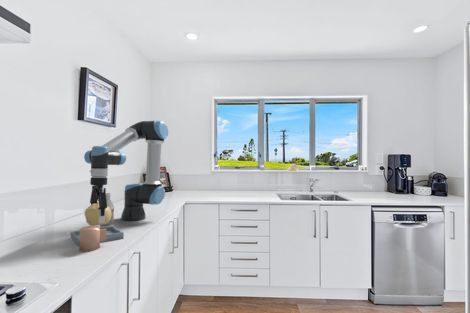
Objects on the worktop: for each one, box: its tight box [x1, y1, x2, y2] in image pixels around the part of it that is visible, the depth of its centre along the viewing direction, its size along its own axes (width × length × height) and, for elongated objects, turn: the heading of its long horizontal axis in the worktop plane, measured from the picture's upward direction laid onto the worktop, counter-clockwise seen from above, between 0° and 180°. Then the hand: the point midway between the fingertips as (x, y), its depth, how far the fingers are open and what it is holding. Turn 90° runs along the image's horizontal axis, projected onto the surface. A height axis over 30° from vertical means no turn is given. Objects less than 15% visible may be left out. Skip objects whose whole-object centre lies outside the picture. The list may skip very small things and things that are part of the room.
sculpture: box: [84, 202, 112, 226], centre depth 136 cm, size 12×12×11 cm
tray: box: [70, 225, 125, 247], centre depth 136 cm, size 20×16×3 cm
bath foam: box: [99, 192, 115, 228], centre depth 154 cm, size 7×7×20 cm
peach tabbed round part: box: [78, 225, 107, 252], centre depth 122 cm, size 8×11×9 cm
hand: (97, 220), depth 136 cm, fingers closed on sculpture, 12 cm apart
